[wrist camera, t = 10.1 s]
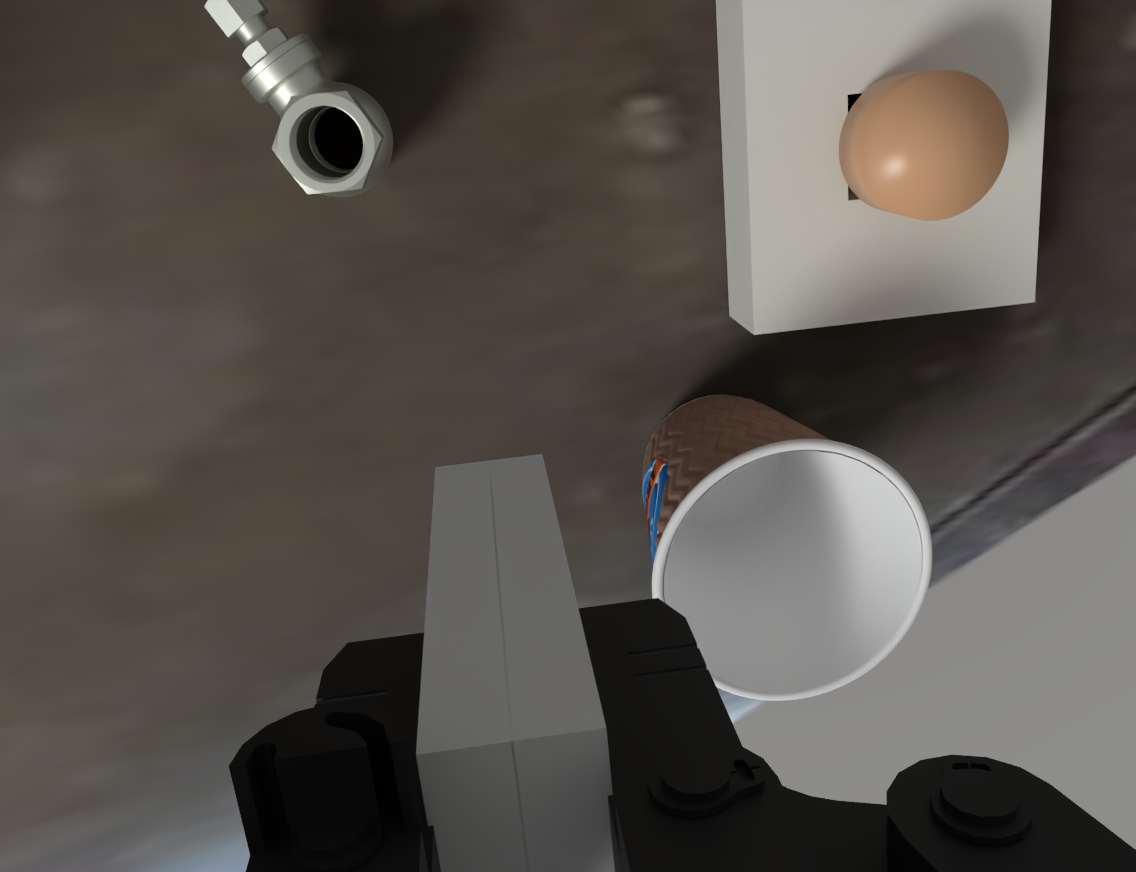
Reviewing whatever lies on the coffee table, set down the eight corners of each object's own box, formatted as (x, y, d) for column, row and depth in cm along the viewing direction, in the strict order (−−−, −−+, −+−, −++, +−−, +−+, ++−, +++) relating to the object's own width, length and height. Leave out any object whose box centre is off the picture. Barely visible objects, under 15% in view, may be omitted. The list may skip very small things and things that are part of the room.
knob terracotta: (806, 209, 43) (868, 228, 37) (803, 81, 42) (868, 77, 35) (922, 196, 44) (1005, 212, 37) (925, 69, 42) (1012, 62, 35)
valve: (442, 132, 42) (246, -140, 38) (439, 137, 35) (203, -188, 32) (316, 227, 42) (111, -30, 39) (291, 248, 36) (44, -57, 32)
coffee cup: (577, 401, 46) (616, 498, 34) (792, 326, 46) (902, 399, 34) (642, 592, 49) (697, 739, 38) (842, 523, 49) (958, 649, 38)
